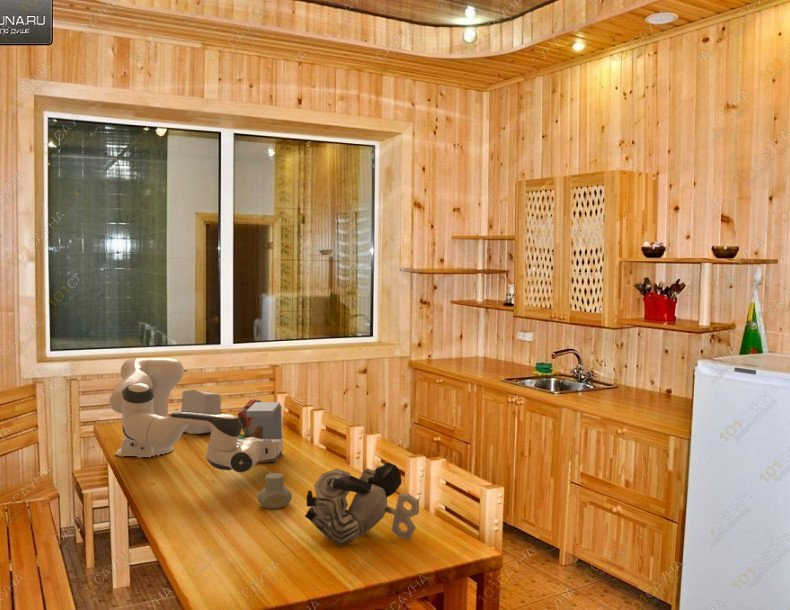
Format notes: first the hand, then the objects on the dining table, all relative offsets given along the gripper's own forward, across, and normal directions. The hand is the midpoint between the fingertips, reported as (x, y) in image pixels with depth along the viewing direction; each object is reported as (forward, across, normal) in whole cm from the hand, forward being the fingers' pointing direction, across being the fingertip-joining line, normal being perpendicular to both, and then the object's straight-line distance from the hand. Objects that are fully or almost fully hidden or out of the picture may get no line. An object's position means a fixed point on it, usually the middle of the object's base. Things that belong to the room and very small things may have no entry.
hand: (259, 440), depth 278 cm
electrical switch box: (+60, -38, -11) cm, 72 cm away
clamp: (+28, -14, -11) cm, 34 cm away
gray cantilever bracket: (+12, 0, -11) cm, 16 cm away
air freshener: (-41, +14, -11) cm, 45 cm away
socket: (+12, 0, -11) cm, 16 cm away
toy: (-65, +43, -11) cm, 79 cm away
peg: (-1, 0, -7) cm, 7 cm away
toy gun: (+51, -15, -11) cm, 54 cm away
